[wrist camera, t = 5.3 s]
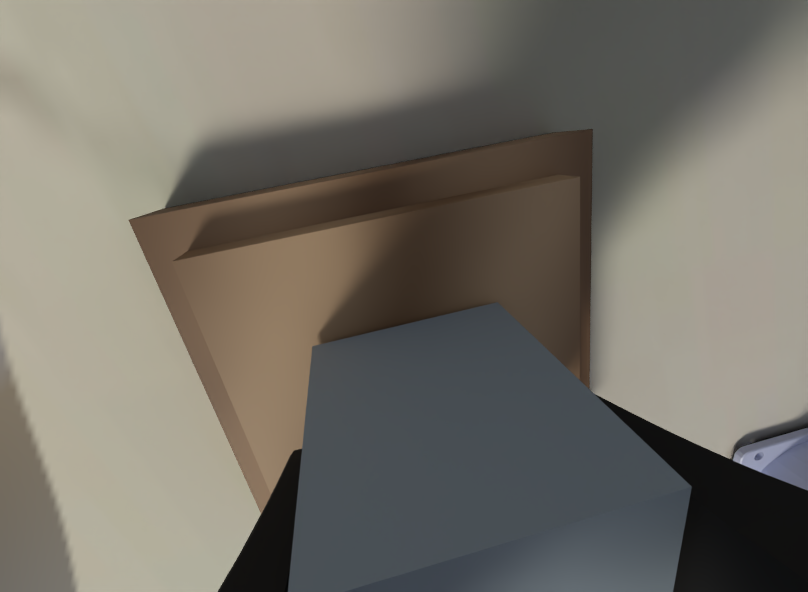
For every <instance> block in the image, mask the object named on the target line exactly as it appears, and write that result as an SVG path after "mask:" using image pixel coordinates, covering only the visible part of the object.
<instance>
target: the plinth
mask: <svg viewBox="0 0 808 592" xmlns="http://www.w3.org/2000/svg"><path fill="white" fill-rule="evenodd" d="M592 137H593V129H587V130H577V131H566V132H555V133H549V134H544V135H539V136H534V137H528V138H523V139H518V140H513V141H508V142H503V143H498V144H493V145H487V146H482V147H477V148H472V149H467V150H462V151H457V152H452V153H446V154H441V155H436V156H431V157H426V158H421V159H416V160H411V161H405V162H400V163H395V164H390V165H385V166H380V167H375V168H370V169H364V170H359V171H354V172H349V173H344V174H339V175H334V176H329V177H323V178H318V179H313V180H308V181H303V182H298V183H293V184H288V185H282V186H277V187H272V188H267V189H262V190H257V191H252V192H247V193H241V194H236V195H231V196H226V197H221V198H216V199H211V200H205V201H200V202H195V203H190V204H185V205H180V206H175V207H170V208H164V209H161V210H158V211H155V212H152V213H149V214H146V215H143V216H139V217H136V218H133V219H130V220H129V222H130V224H131V226H132V229H133V231H134V233H135V235H136V237H137V240H138V242H139V244H140V246H141V249H142V251H143V253H144V255H145V257H146V260H147V262H148V264H149V266H150V268H151V271H152V273H153V275H154V277H155V280H156V282H157V284H158V286H159V288H160V291H161V293H162V295H163V297H164V299H165V302H166V304H167V306H168V308H169V311H170V313H171V315H172V317H173V319H174V322H175V324H176V326H177V328H178V331H179V333H180V335H181V337H182V339H183V342H184V344H185V346H186V348H187V350H188V353H189V355H190V357H191V359H192V362H193V364H194V366H195V368H196V370H197V373H198V375H199V377H200V379H201V381H202V384H203V386H204V388H205V390H206V393H207V395H208V397H209V399H210V401H211V404H212V406H213V408H214V410H215V412H216V415H217V417H218V419H219V421H220V424H221V426H222V428H223V430H224V432H225V435H226V437H227V439H228V441H229V443H230V446H231V448H232V450H233V452H234V455H235V457H236V459H237V461H238V463H239V466H240V468H241V470H242V472H243V475H244V477H245V479H246V481H247V483H248V486H249V488H250V490H251V492H252V494H253V497H254V499H255V501H256V503H257V506H258V508H259V510H260V512H261V514H262V512H263V510H264V508H265V506H266V504H267V502H268V500H269V498H270V496H271V494H272V492H273V490H274V488H275V486H276V484H277V482H278V480H279V478H280V476H281V474H282V472H283V470H284V467H285V465H286V463H287V461H288V459H289V457H290V455H291V454H292V452H293V451H294V450H298V449H302V445H303V435H304V425H305V415H306V405H307V395H308V385H309V375H310V365H311V354H312V346H315V345H320V344H324V343H328V342H332V341H336V340H341V339H345V338H349V337H353V336H357V335H362V334H366V333H370V332H374V331H378V330H383V329H387V328H391V327H395V326H400V325H404V324H408V323H412V322H416V321H421V320H425V319H429V318H433V317H437V316H442V315H446V314H450V313H454V312H458V311H463V310H467V309H471V308H475V307H479V306H484V305H488V304H492V303H496V302H498V303H499V304H500V305H501V306H502V307H503V308H504V309H505V310H506V311H507V312H508V313H509V314H511V315H512V316H513V317H514V318H515V319H516V320H517V321H518V322H519V323H520V324H521V325H522V326H523V327H524V328H525V329H526V330H527V331H528V332H529V333H531V334H532V335H533V336H534V337H535V338H536V339H537V340H538V341H539V342H540V343H541V344H542V345H543V346H544V347H545V348H546V349H547V350H548V351H549V352H551V353H552V354H553V355H554V356H555V357H556V358H557V359H558V360H559V361H560V362H561V363H562V364H563V365H564V366H565V367H566V368H567V369H568V370H569V371H571V372H572V373H573V374H574V375H575V376H576V377H577V378H578V379H579V380H580V381H581V382H582V383H583V384H584V385H585V386H586V387H587V388H588V389H589V371H590V293H591V215H592Z"/></svg>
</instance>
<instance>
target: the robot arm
mask: <svg viewBox="0 0 808 592" xmlns="http://www.w3.org/2000/svg"><path fill="white" fill-rule="evenodd" d="M596 396H597V395H596ZM597 397H598V398H599V399H600V400H601V401H602V402H603V403H604V404H605V405H606V406H607V407H608V408H609V409H611V410H612V411H613V412H614V413H615V414H616V415H617V416H618V417H619V418H620V419H621V420H622V421H623V422H624V423H625V424H626V425H627V426H628V427H629V428H630V429H632V430H633V431H634V432H635V433H636V434H637V435H638V436H639V437H640V438H641V439H642V440H643V441H644V442H645V443H646V444H647V445H648V446H649V447H650V448H652V449H653V450H654V451H655V452H656V453H657V454H658V455H659V456H660V457H661V458H662V459H663V460H664V461H665V462H666V463H667V464H668V465H669V466H670V467H672V468H673V469H674V470H675V471H676V472H677V473H678V474H679V475H680V476H681V477H682V478H683V479H684V480H685V481H686V482H687V483H688V484H689V485H690V486H692V489H691V494H690V500H689V505H688V511H687V516H686V522H685V527H684V533H683V539H682V544H681V550H680V555H679V561H678V566H677V572H676V578H675V583H674V589H673V592H808V428H804V429H801V430H797V431H794V432H791V433H787V434H784V435H780V436H777V437H773V438H770V439H766V440H763V441H760V442H756V443H753V444H749V445H746V446H743V447H740V448H739V449H738V450H737V451H736V452H735V454H734V458H733V460H730V459H728V458H726V457H724V456H721V455H719V454H717V453H715V452H712V451H710V450H708V449H706V448H703V447H701V446H699V445H697V444H694V443H692V442H690V441H688V440H686V439H684V438H682V437H679V436H677V435H675V434H673V433H671V432H669V431H667V430H665V429H663V428H661V427H659V426H656V425H654V424H652V423H650V422H648V421H646V420H644V419H642V418H640V417H638V416H636V415H634V414H632V413H630V412H628V411H626V410H625V409H623V408H621V407H619V406H617V405H615V404H613V403H611V402H609V401H607V400H605V399H603V398H601V397H599V396H597ZM301 455H302V449H298V450H294V451H293V452H292V454H291V455H290V457H289V459H288V461H287V463H286V465H285V467H284V470H283V472H282V474H281V476H280V478H279V480H278V482H277V484H276V486H275V488H274V490H273V492H272V494H271V496H270V498H269V500H268V502H267V504H266V506H265V508H264V510H263V512H262V514H261V516H260V517H259V519H258V521H257V523H256V525H255V527H254V529H253V530H252V532H251V534H250V536H249V538H248V540H247V542H246V543H245V545H244V547H243V549H242V551H241V553H240V554H239V556H238V558H237V560H236V562H235V563H234V565H233V567H232V568H231V570H230V572H229V573H228V575H227V577H226V578H225V580H224V582H223V584H222V585H221V587H220V589H219V590H218V592H288V585H289V575H290V565H291V555H292V545H293V535H294V525H295V515H296V505H297V495H298V485H299V475H300V465H301Z"/></svg>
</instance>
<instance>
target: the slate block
mask: <svg viewBox="0 0 808 592" xmlns="http://www.w3.org/2000/svg"><path fill="white" fill-rule="evenodd" d="M691 489H692V486H690V485H689V484H688V483H687V482H686V481H685V480H684V479H683V478H682V477H681V476H680V475H679V474H678V473H677V472H676V471H675V470H674V469H673V468H672V467H670V466H669V465H668V464H667V463H666V462H665V461H664V460H663V459H662V458H661V457H660V456H659V455H658V454H657V453H656V452H655V451H654V450H653V449H652V448H650V447H649V446H648V445H647V444H646V443H645V442H644V441H643V440H642V439H641V438H640V437H639V436H638V435H637V434H636V433H635V432H634V431H633V430H632V429H630V428H629V427H628V426H627V425H626V424H625V423H624V422H623V421H622V420H621V419H620V418H619V417H618V416H617V415H616V414H615V413H614V412H613V411H612V410H611V409H609V408H608V407H607V406H606V405H605V404H604V403H603V402H602V401H601V400H600V399H599V398H598V397H597V396H596V395H595V394H594V393H593V392H592V391H591V390H589V389H588V388H587V387H586V386H585V385H584V384H583V383H582V382H581V381H580V380H579V379H578V378H577V377H576V376H575V375H574V374H573V373H572V372H571V371H569V370H568V369H567V368H566V367H565V366H564V365H563V364H562V363H561V362H560V361H559V360H558V359H557V358H556V357H555V356H554V355H553V354H552V353H551V352H549V351H548V350H547V349H546V348H545V347H544V346H543V345H542V344H541V343H540V342H539V341H538V340H537V339H536V338H535V337H534V336H533V335H532V334H531V333H529V332H528V331H527V330H526V329H525V328H524V327H523V326H522V325H521V324H520V323H519V322H518V321H517V320H516V319H515V318H514V317H513V316H512V315H511V314H509V313H508V312H507V311H506V310H505V309H504V308H503V307H502V306H501V305H500V304H499V303H498V302H496V303H492V304H488V305H484V306H479V307H475V308H471V309H467V310H463V311H458V312H454V313H450V314H446V315H442V316H437V317H433V318H429V319H425V320H421V321H416V322H412V323H408V324H404V325H400V326H395V327H391V328H387V329H383V330H378V331H374V332H370V333H366V334H362V335H357V336H353V337H349V338H345V339H341V340H336V341H332V342H328V343H324V344H320V345H315V346H312V354H311V365H310V375H309V385H308V395H307V405H306V415H305V425H304V435H303V445H302V455H301V465H300V475H299V485H298V495H297V505H296V515H295V525H294V535H293V545H292V555H291V565H290V575H289V585H288V592H673V589H674V583H675V578H676V572H677V566H678V561H679V555H680V550H681V544H682V539H683V533H684V527H685V522H686V516H687V511H688V505H689V500H690V494H691Z"/></svg>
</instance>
